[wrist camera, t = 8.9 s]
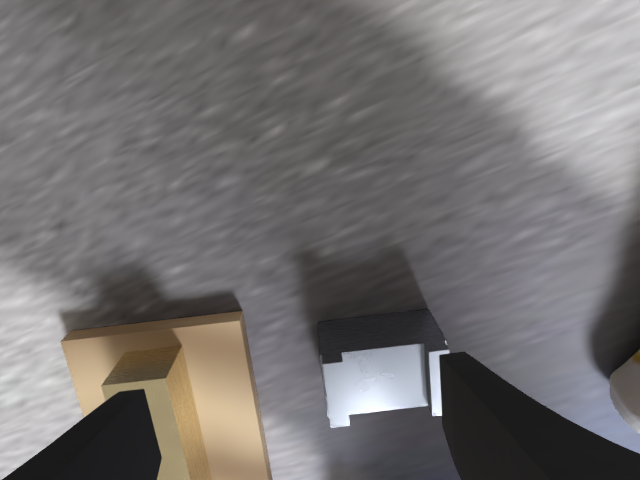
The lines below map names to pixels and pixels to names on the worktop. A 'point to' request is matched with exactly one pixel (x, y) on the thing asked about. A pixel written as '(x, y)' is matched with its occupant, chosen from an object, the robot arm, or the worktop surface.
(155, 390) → the rail
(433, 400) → the post
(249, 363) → the board
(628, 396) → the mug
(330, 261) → the worktop surface
